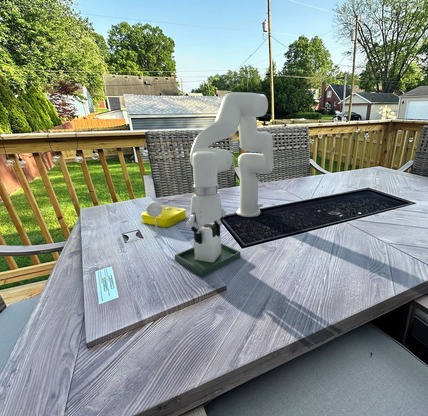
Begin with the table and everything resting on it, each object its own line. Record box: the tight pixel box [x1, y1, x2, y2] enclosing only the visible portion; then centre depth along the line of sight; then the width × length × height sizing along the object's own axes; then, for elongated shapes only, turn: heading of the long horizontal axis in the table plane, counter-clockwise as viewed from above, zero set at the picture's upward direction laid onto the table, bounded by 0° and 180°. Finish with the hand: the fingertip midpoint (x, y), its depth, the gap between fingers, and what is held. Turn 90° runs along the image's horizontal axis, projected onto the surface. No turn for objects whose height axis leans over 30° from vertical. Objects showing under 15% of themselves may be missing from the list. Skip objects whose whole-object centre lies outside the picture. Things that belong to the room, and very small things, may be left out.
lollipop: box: [145, 201, 162, 238], centre depth 105 cm, size 6×6×15 cm
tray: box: [174, 242, 242, 278], centre depth 94 cm, size 17×15×2 cm
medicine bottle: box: [193, 223, 222, 263], centre depth 92 cm, size 7×7×12 cm
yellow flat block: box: [141, 204, 187, 228], centre depth 124 cm, size 15×15×5 cm
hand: (207, 238), depth 91 cm, fingers closed on medicine bottle, 7 cm apart
